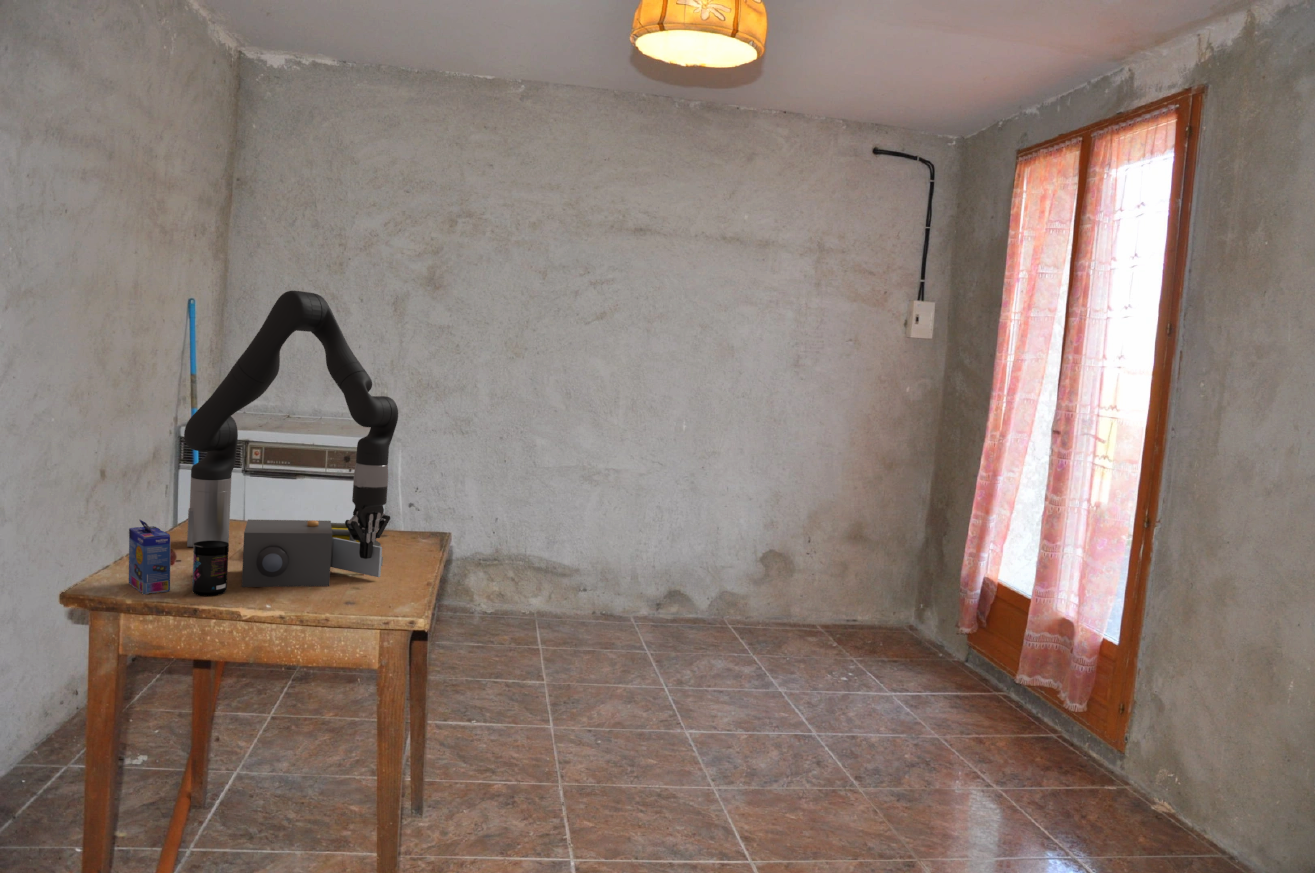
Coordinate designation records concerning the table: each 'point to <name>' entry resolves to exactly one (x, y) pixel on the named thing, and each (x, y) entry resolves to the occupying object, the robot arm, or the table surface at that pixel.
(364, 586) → the table surface
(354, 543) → the side door
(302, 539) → the block
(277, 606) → the table surface
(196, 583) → the supplement container
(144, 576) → the ink cartridge box
